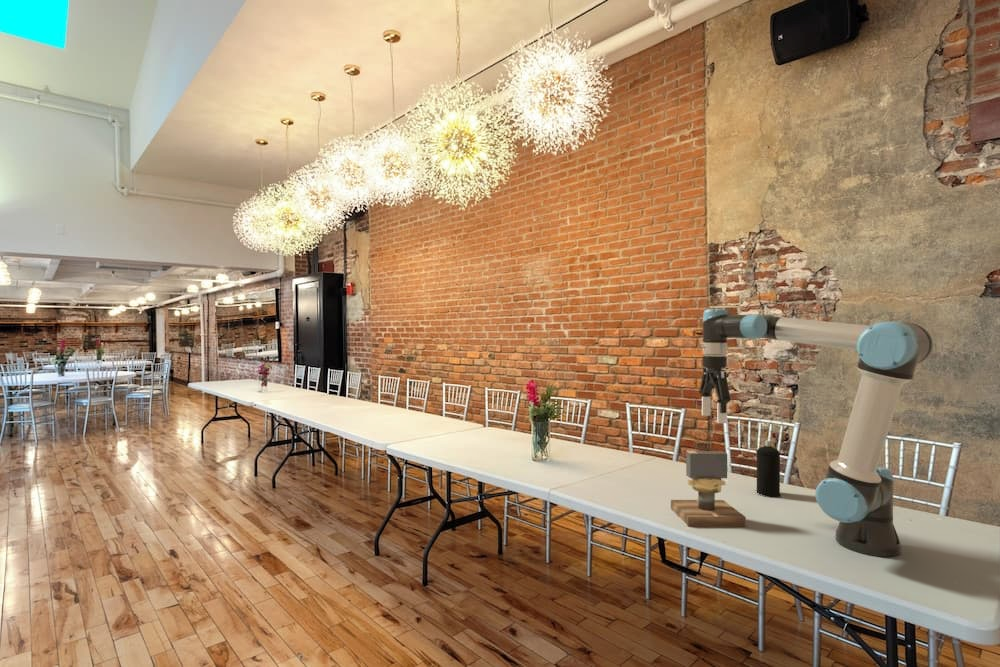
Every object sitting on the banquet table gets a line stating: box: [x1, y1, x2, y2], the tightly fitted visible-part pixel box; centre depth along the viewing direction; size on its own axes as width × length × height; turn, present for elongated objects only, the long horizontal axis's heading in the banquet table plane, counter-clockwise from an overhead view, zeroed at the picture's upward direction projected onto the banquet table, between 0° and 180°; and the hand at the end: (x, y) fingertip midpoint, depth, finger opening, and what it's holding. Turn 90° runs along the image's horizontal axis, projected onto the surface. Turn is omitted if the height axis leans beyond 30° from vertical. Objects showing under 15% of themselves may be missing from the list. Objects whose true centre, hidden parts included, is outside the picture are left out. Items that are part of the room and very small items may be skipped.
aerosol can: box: [755, 439, 781, 498], centre depth 191 cm, size 8×8×20 cm
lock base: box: [670, 491, 747, 527], centre depth 167 cm, size 16×18×9 cm
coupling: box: [685, 450, 728, 494], centre depth 167 cm, size 9×12×12 cm
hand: (713, 419), depth 169 cm, fingers open, 13 cm apart
